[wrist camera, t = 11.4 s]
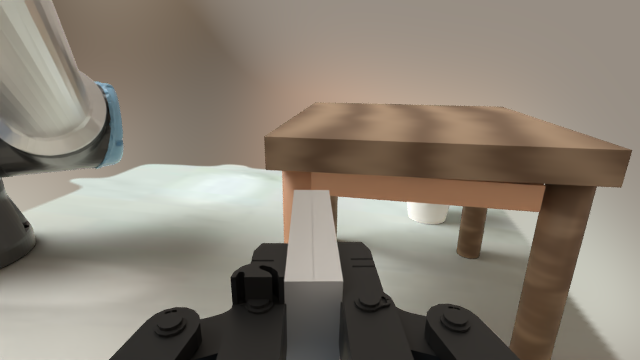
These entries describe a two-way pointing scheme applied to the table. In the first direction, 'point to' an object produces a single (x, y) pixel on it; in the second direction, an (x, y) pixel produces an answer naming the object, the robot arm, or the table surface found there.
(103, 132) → the robot arm
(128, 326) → the table surface
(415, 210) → the foam cup
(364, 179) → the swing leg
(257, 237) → the table surface
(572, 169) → the stool
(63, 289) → the table surface
